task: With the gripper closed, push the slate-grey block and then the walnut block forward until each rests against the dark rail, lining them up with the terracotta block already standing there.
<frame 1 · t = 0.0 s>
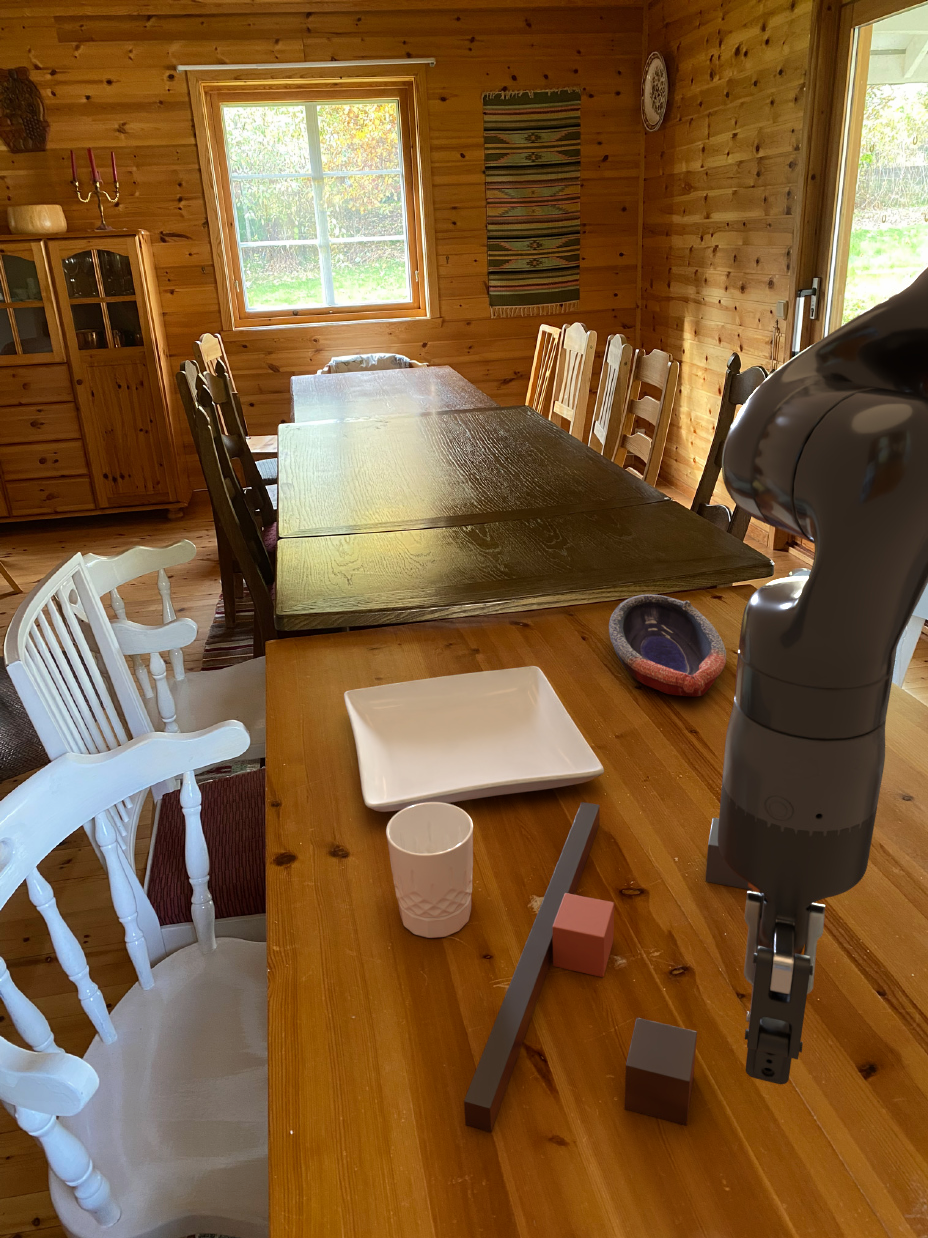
hand: (770, 1015, 53), 17 cm above the table, tool pointing down, fingers open, 8 cm apart
terracotta block: (583, 954, 82), on the table
white cup: (436, 915, 87), on the table
walnut block: (659, 1091, 69), on the table
dish: (664, 661, 133), on the table
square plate: (464, 752, 113), on the table
rail: (545, 945, 83), on the table
slate block: (730, 871, 91), on the table
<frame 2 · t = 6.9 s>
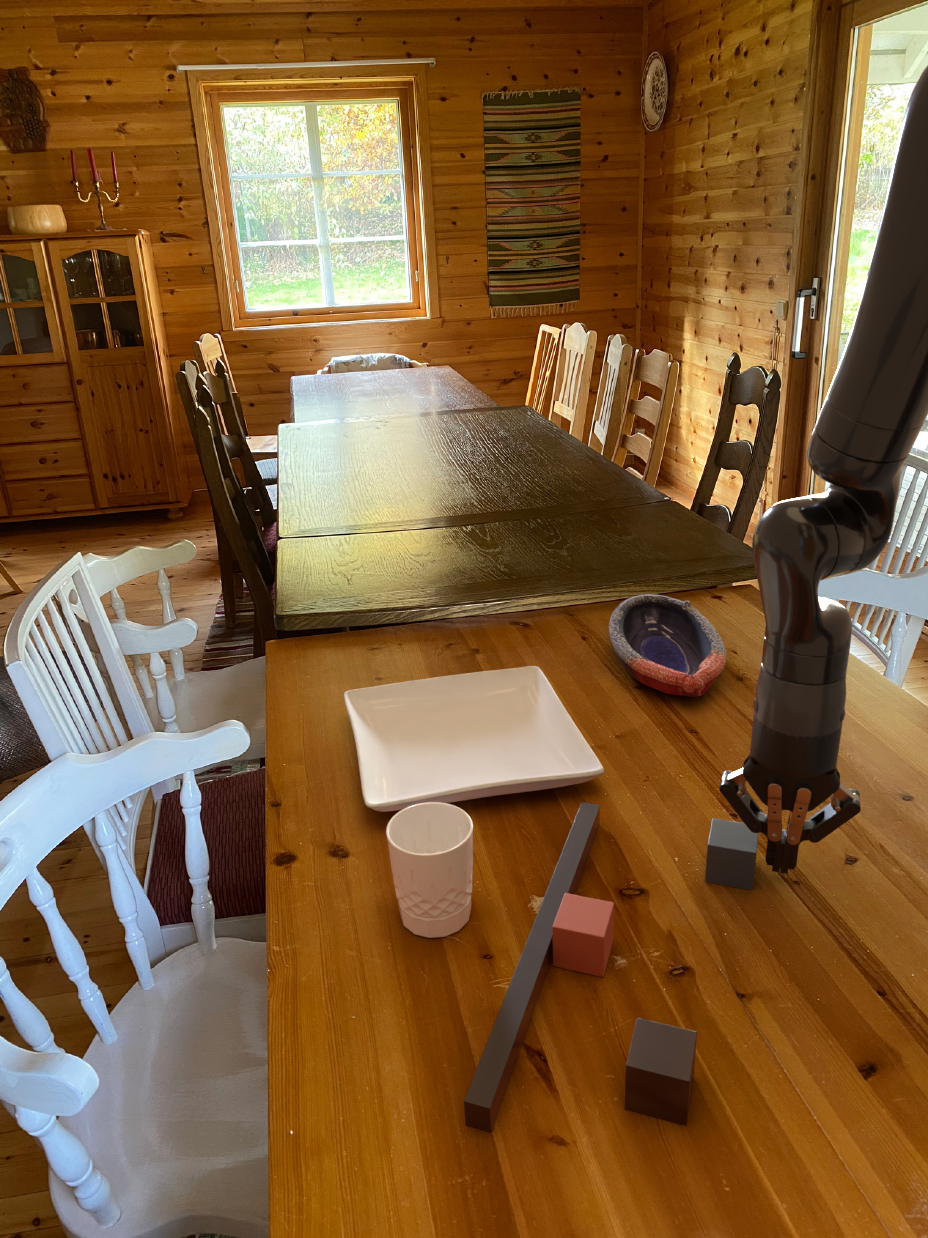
hand: (779, 867, 89), 1 cm above the table, tool pointing down, fingers closed
slate block: (730, 872, 91), on the table, touching gripper
everything else where it was.
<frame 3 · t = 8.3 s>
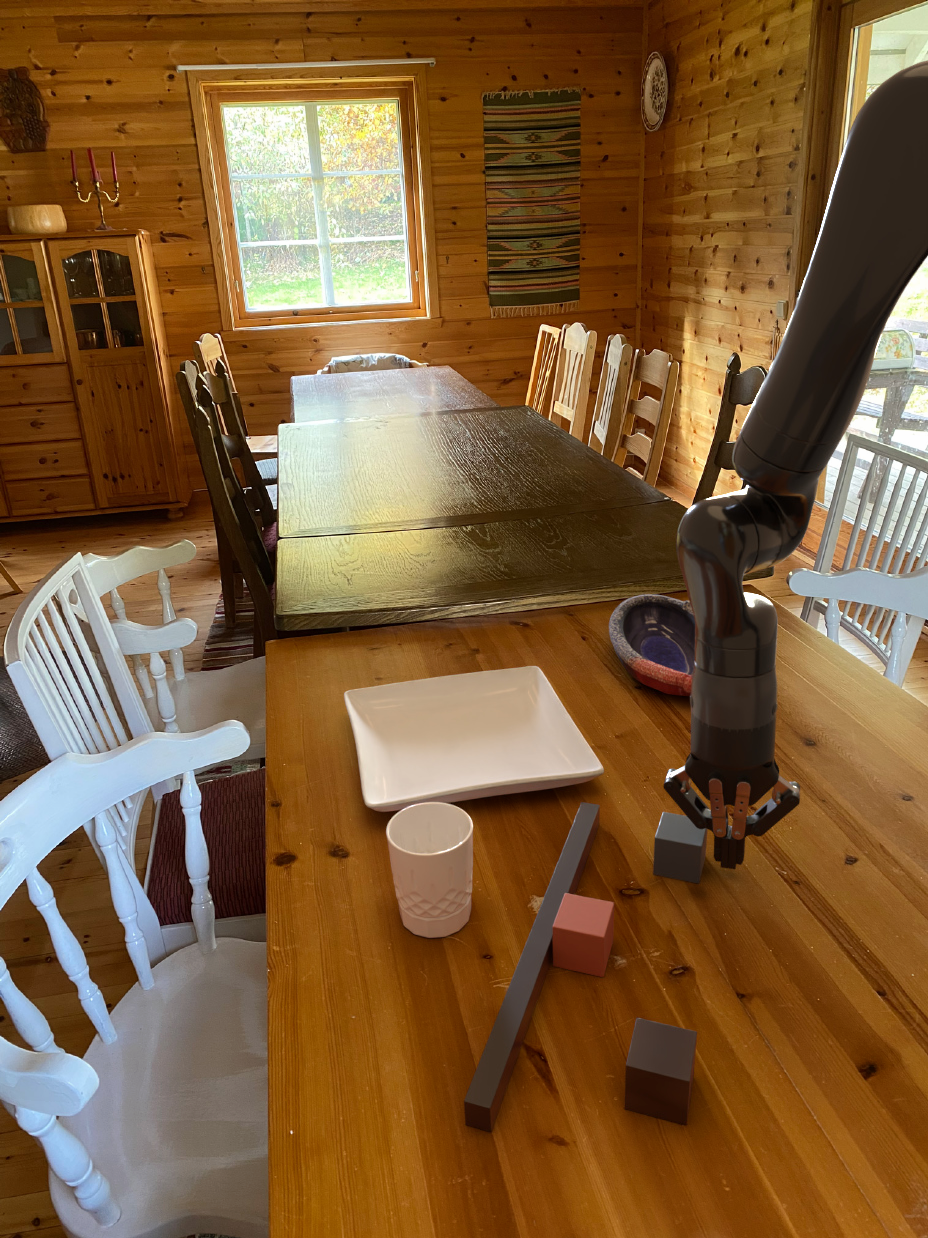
hand: (728, 863, 90), 1 cm above the table, tool pointing down, fingers closed
slate block: (679, 865, 92), on the table, touching gripper
everything else where it was.
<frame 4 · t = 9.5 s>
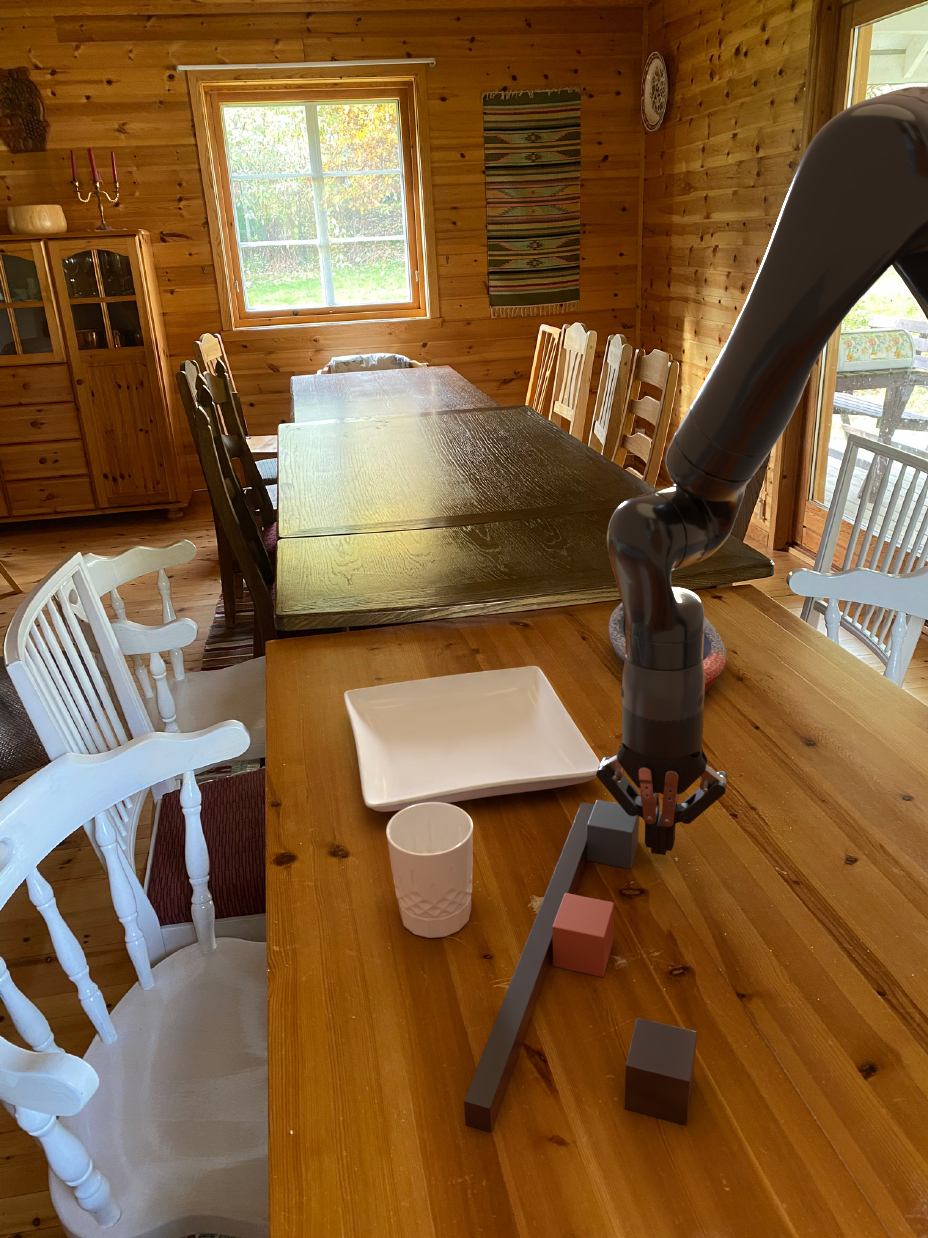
hand: (659, 849, 92), 1 cm above the table, tool pointing down, fingers closed
slate block: (612, 851, 94), on the table, touching gripper, rail
everything else where it was.
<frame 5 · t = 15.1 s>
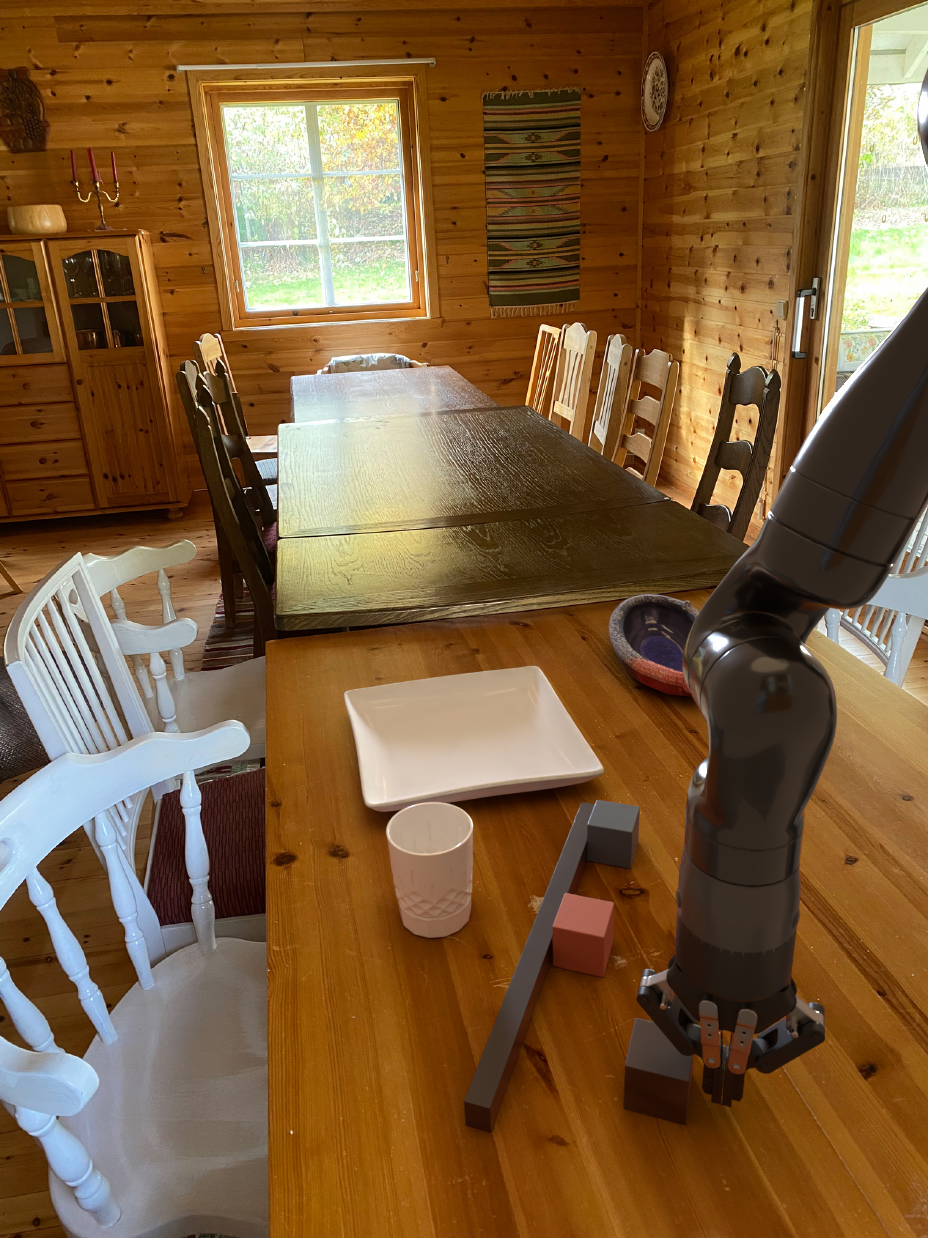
hand: (721, 1095, 66), 2 cm above the table, tool pointing down, fingers closed
walnut block: (658, 1091, 69), on the table, touching gripper
slate block: (612, 851, 94), on the table
everything else where it was.
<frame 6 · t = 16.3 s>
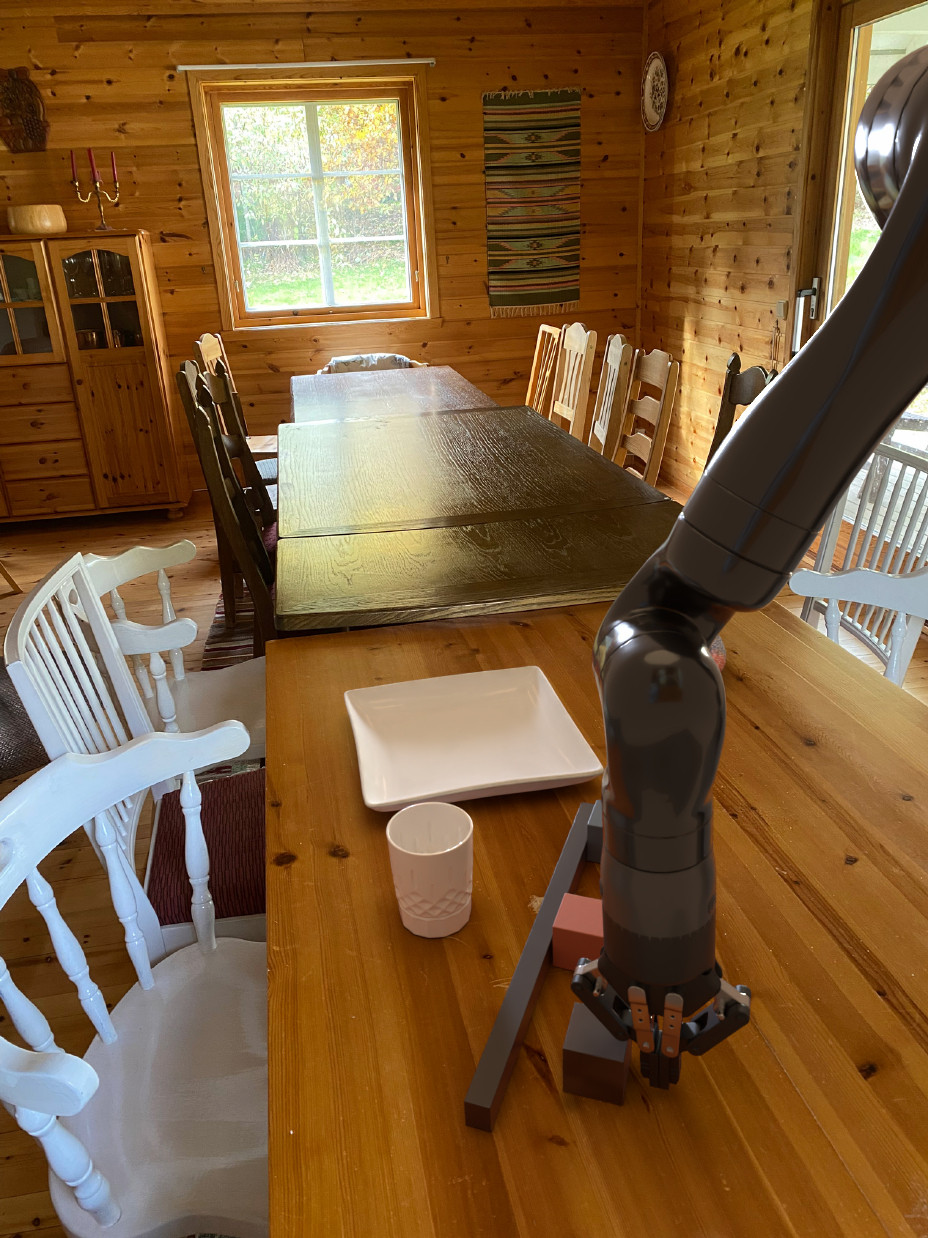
hand: (660, 1078, 68), 1 cm above the table, tool pointing down, fingers closed
walnut block: (597, 1074, 70), on the table, touching gripper
everything else where it was.
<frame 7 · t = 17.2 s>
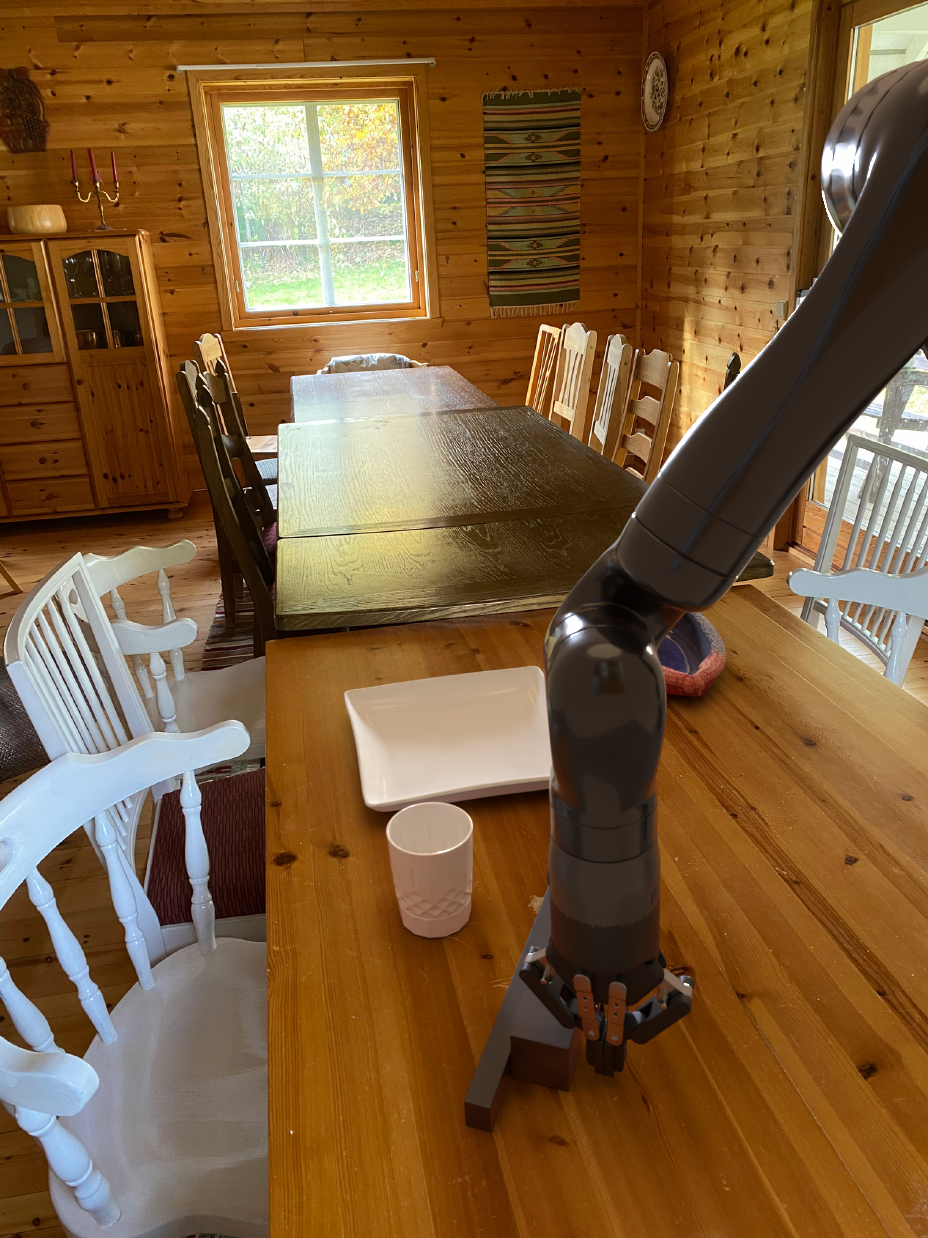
hand: (606, 1066, 69), 1 cm above the table, tool pointing down, fingers closed
walnut block: (546, 1061, 71), on the table, touching gripper, rail
everything else where it was.
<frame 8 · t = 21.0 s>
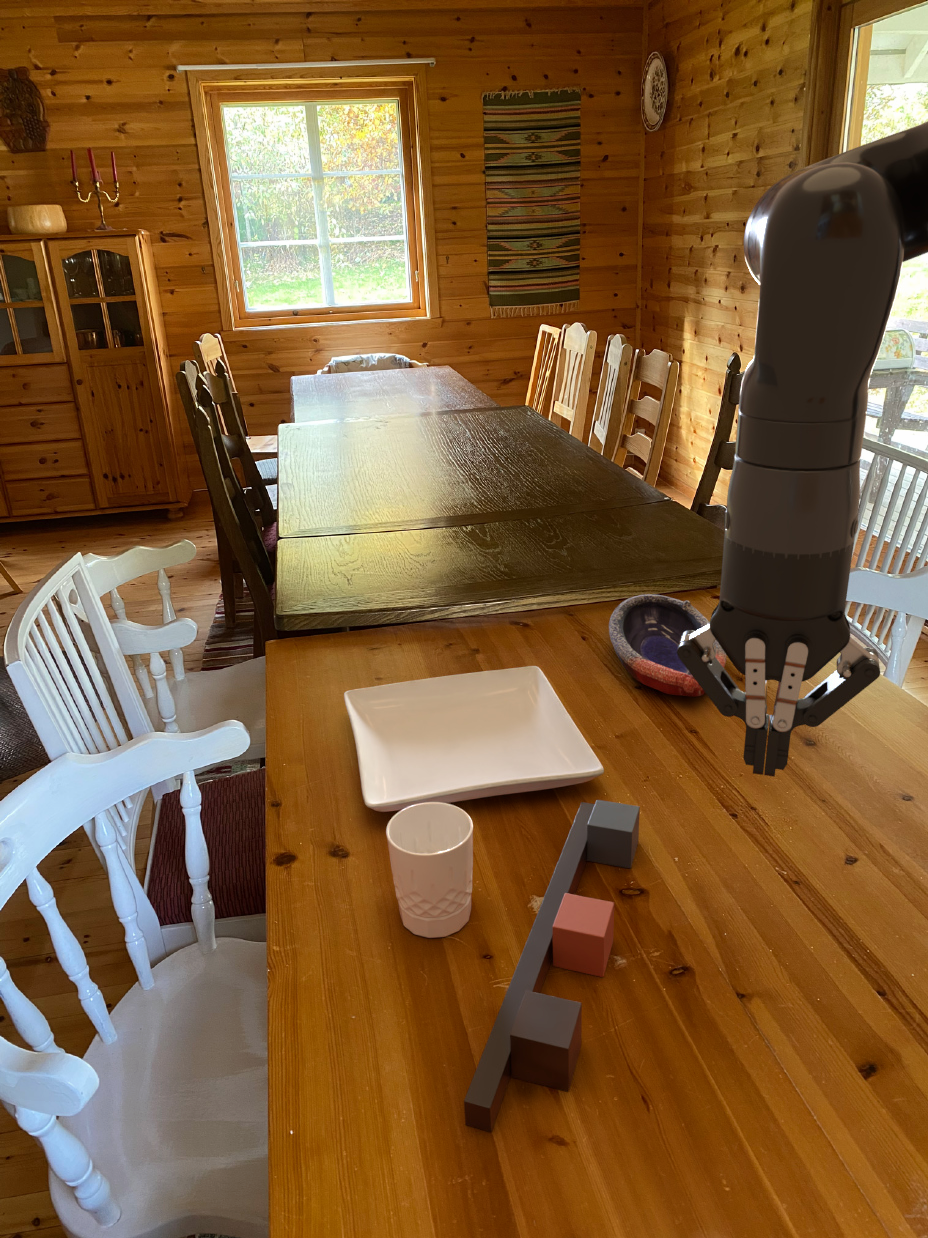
hand: (763, 768, 63), 25 cm above the table, tool pointing down, fingers closed
walnut block: (546, 1061, 71), on the table
everything else where it was.
at the end: slate block 0.6 cm from the target spot on the table beside the rail, on the table; walnut block 0.6 cm from the target spot on the table beside the rail, on the table; terracotta block moved 0.0 cm from its start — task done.
